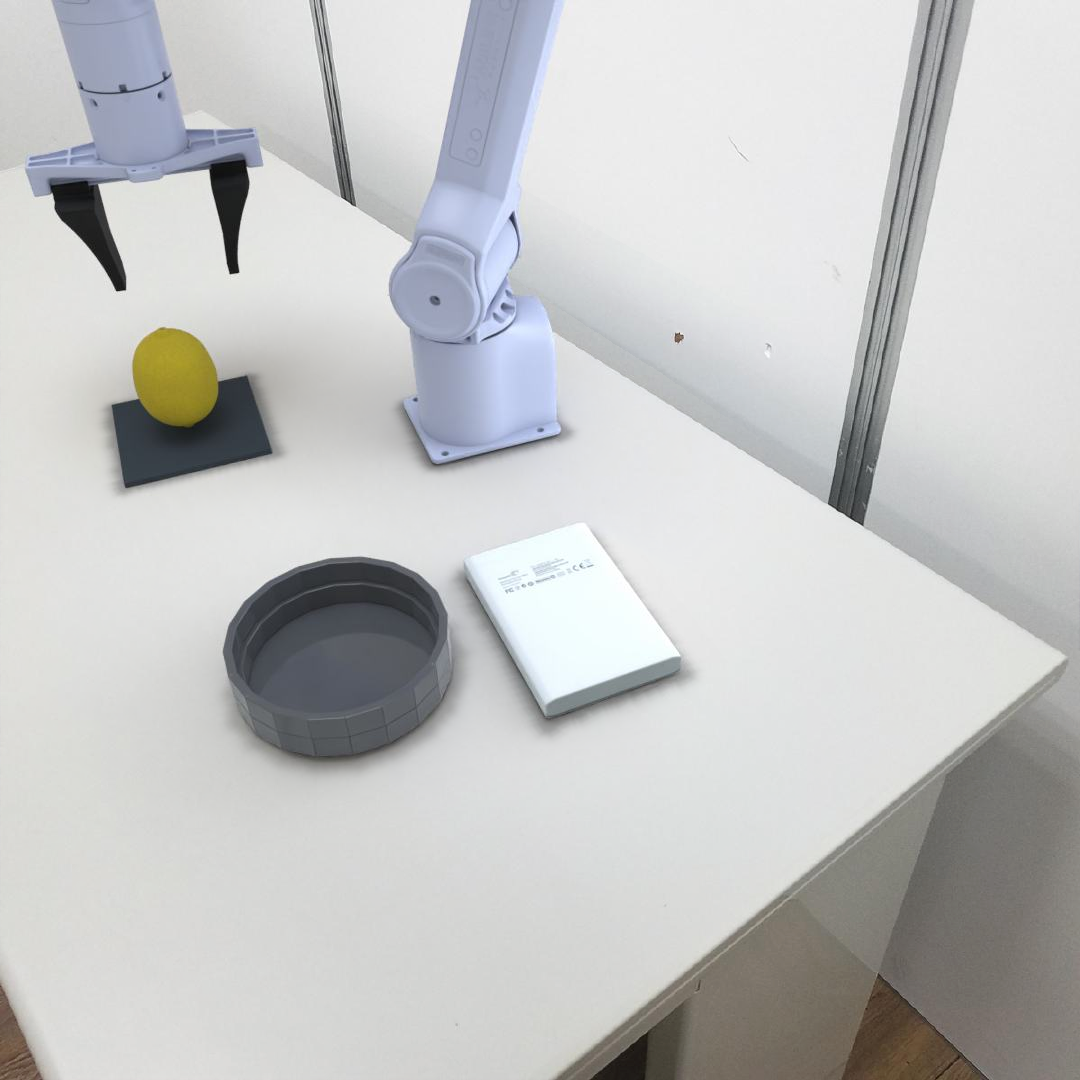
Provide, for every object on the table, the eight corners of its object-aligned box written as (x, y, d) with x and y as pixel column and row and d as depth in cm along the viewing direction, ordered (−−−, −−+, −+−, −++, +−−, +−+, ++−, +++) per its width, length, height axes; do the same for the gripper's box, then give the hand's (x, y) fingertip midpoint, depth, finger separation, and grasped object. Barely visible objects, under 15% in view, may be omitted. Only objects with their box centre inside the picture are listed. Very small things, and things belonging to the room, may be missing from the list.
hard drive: (545, 722, 59) (464, 575, 68) (680, 673, 62) (585, 537, 70) (544, 702, 58) (462, 556, 67) (682, 653, 61) (585, 518, 69)
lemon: (209, 453, 77) (181, 354, 72) (136, 444, 78) (103, 347, 73) (240, 407, 81) (217, 311, 76) (170, 400, 82) (142, 304, 77)
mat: (247, 379, 85) (246, 375, 84) (272, 453, 78) (271, 448, 77) (112, 409, 82) (111, 404, 82) (125, 488, 75) (123, 483, 75)
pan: (418, 577, 68) (412, 535, 66) (480, 720, 60) (477, 678, 57) (221, 631, 65) (208, 589, 63) (257, 790, 57) (244, 748, 54)
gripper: (-5, 115, 64) (67, 320, 73) (248, 85, 67) (288, 286, 76) (5, 74, 70) (71, 271, 79) (239, 47, 72) (277, 240, 81)
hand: (177, 275), depth 78 cm, fingers open, 7 cm apart
